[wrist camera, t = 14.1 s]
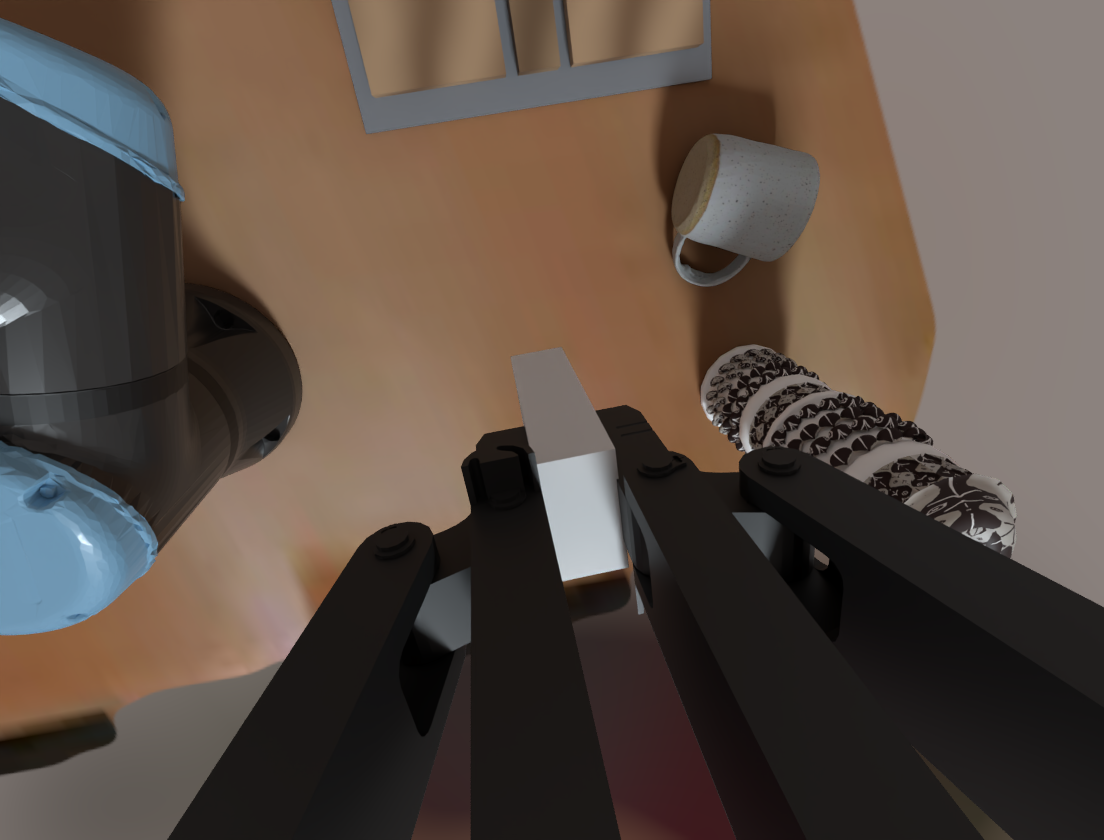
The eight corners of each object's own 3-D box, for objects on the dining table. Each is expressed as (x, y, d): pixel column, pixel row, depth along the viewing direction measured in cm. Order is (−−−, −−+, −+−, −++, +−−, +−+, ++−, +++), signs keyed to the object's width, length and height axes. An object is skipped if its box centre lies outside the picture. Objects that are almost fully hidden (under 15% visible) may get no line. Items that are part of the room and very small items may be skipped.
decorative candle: (676, 411, 50) (844, 602, 28) (732, 322, 47) (970, 453, 25) (752, 447, 53) (962, 647, 30) (810, 365, 50) (1088, 518, 28)
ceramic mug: (684, 130, 41) (726, 123, 34) (781, 155, 42) (840, 153, 36) (646, 272, 45) (677, 291, 38) (735, 290, 47) (780, 312, 40)
